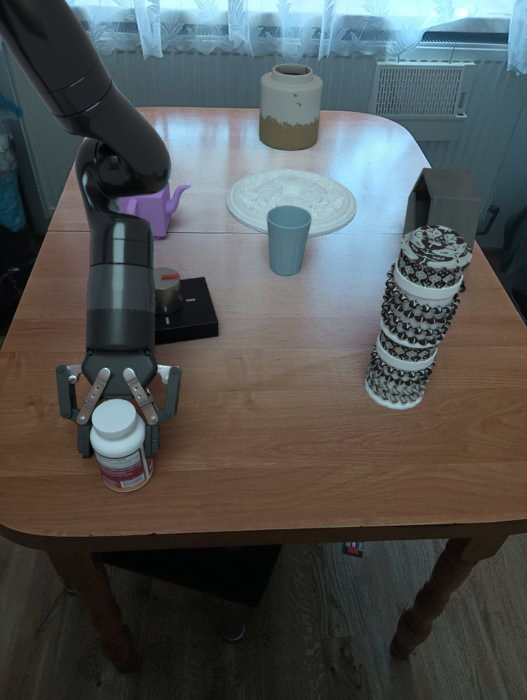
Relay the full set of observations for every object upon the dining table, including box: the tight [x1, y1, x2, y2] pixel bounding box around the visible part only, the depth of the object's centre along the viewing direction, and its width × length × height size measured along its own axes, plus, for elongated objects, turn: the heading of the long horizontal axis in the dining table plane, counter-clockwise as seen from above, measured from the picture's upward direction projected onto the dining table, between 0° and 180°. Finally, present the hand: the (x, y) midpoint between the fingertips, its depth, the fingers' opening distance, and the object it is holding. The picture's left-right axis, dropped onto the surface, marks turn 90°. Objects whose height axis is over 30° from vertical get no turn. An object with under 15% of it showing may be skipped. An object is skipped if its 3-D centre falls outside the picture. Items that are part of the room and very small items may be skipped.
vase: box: [258, 63, 324, 151], centre depth 135 cm, size 15×15×17 cm
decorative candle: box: [364, 225, 474, 411], centre depth 69 cm, size 9×9×25 cm
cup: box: [267, 205, 312, 277], centre depth 95 cm, size 8×8×10 cm
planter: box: [401, 167, 483, 271], centre depth 94 cm, size 17×8×21 cm
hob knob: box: [153, 266, 182, 315], centre depth 83 cm, size 6×6×5 cm
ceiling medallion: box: [225, 168, 358, 238], centre depth 115 cm, size 28×28×3 cm
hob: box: [155, 276, 220, 346], centre depth 86 cm, size 15×12×3 cm
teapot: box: [119, 181, 192, 241], centre depth 102 cm, size 15×13×11 cm
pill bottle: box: [90, 398, 154, 493], centre depth 62 cm, size 6×6×11 cm
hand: (119, 457), depth 61 cm, fingers closed on pill bottle, 6 cm apart
